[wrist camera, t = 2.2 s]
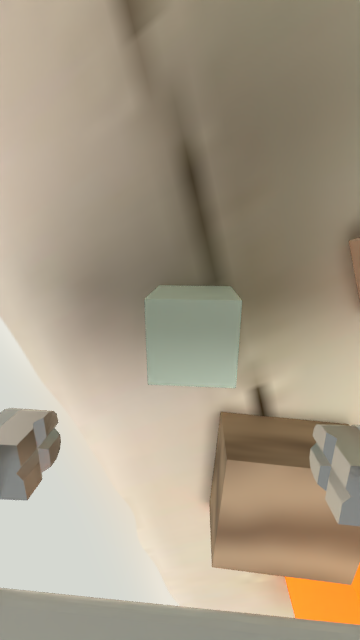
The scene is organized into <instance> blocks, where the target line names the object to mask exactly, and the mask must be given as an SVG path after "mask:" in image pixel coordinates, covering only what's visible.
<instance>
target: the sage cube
mask: <svg viewBox="0 0 360 640" xmlns="http://www.w3.org/2000/svg"><path fill="white" fill-rule="evenodd" d="M144 303H145V327H146V352H147V376H148V385H171V386H196V387H220V388H236V380H237V366H238V352H239V338H240V324H241V310H242V300H241V298H240V297H239V296H238V295H237V294H236V292H235V291H234V290H233V289H232V287H231V286H170V285H159V286H158V287H157V288H156V289H155V290H154V291H153V292H151V293H150V294H149V295H148V296H147V297H146V298H145V299H144Z"/></svg>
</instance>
